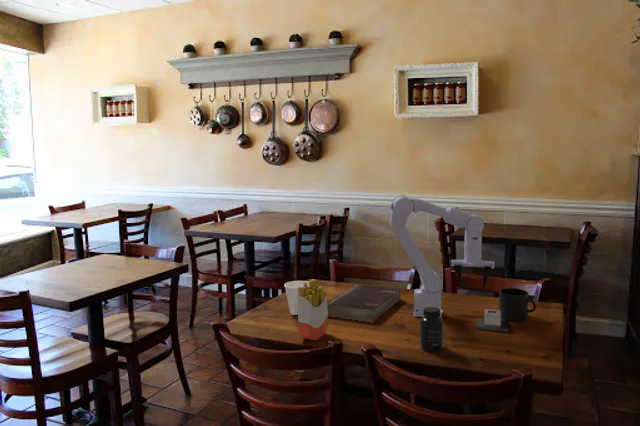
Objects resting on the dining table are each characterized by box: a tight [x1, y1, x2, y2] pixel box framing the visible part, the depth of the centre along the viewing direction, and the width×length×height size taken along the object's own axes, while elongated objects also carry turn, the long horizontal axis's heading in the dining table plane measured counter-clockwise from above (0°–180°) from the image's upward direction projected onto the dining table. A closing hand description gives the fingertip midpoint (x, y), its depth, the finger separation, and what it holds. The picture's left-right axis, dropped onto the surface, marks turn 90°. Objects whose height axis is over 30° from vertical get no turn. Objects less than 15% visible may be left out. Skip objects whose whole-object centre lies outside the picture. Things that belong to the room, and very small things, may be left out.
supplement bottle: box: [419, 307, 445, 353], centre depth 156 cm, size 7×7×12 cm
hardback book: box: [327, 283, 401, 324], centre depth 196 cm, size 29×19×5 cm, turn 152°
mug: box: [498, 287, 537, 322], centre depth 180 cm, size 9×12×9 cm
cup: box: [284, 280, 309, 316], centre depth 190 cm, size 10×10×11 cm
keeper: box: [475, 317, 510, 333], centre depth 173 cm, size 10×8×4 cm
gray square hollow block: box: [483, 308, 502, 327], centre depth 172 cm, size 5×5×4 cm
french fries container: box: [297, 278, 329, 341], centre depth 166 cm, size 5×11×18 cm, turn 147°
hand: (472, 286), depth 184 cm, fingers open, 7 cm apart
